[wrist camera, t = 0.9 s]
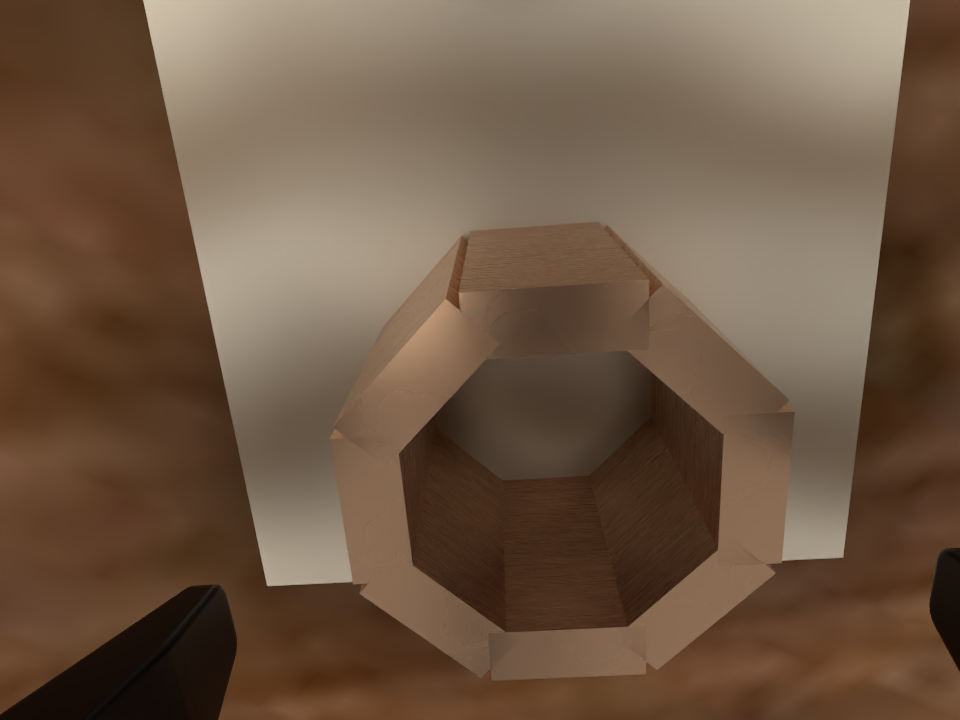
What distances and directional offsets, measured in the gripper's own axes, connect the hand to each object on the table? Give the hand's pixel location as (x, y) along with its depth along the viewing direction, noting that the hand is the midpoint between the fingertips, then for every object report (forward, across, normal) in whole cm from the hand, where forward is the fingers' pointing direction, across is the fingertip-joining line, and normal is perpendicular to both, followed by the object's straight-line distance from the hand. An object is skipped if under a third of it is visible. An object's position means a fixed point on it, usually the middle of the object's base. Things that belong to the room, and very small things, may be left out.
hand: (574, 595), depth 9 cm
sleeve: (+7, 0, 0) cm, 7 cm away
